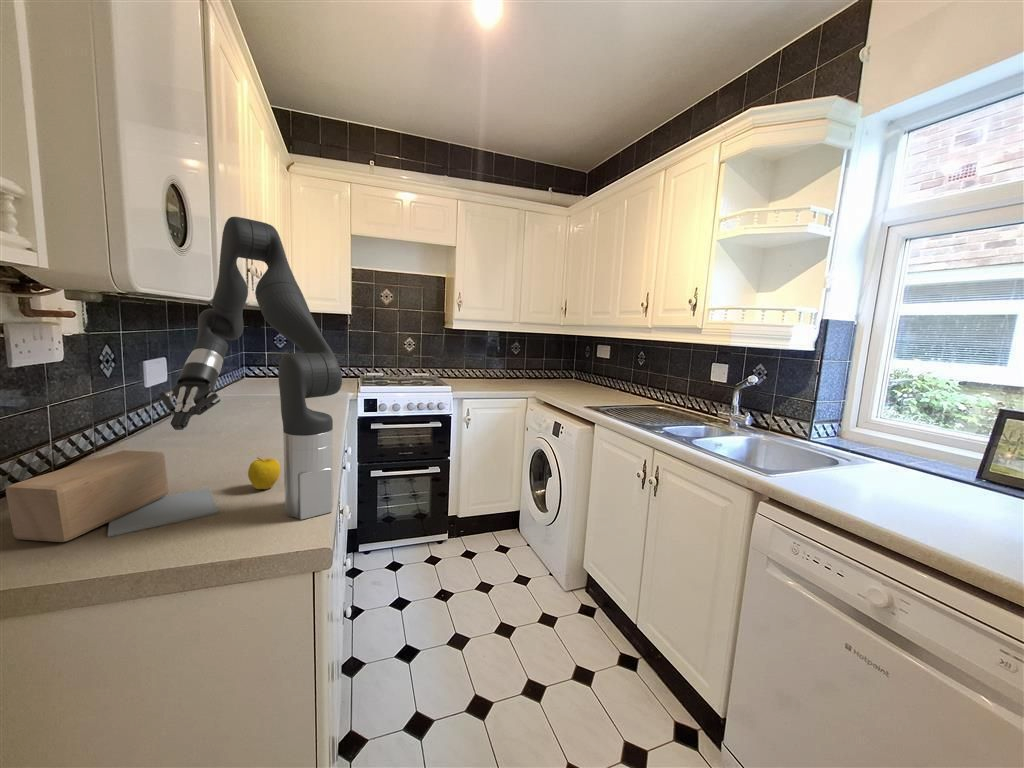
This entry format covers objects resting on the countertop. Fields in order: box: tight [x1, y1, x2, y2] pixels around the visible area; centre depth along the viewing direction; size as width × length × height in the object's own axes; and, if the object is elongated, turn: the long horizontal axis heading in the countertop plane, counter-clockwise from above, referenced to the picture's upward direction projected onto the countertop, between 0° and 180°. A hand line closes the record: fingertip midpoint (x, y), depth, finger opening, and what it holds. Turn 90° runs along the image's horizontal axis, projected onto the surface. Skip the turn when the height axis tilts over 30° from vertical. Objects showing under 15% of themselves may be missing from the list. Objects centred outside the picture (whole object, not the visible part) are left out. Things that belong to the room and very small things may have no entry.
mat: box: [107, 487, 219, 538], centre depth 83 cm, size 15×16×1 cm
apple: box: [247, 457, 281, 490], centre depth 95 cm, size 6×6×8 cm
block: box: [5, 449, 169, 543], centre depth 78 cm, size 10×10×20 cm
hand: (177, 428), depth 95 cm, fingers closed
